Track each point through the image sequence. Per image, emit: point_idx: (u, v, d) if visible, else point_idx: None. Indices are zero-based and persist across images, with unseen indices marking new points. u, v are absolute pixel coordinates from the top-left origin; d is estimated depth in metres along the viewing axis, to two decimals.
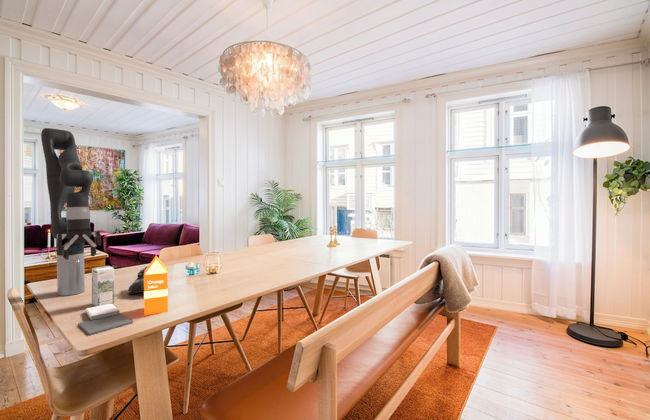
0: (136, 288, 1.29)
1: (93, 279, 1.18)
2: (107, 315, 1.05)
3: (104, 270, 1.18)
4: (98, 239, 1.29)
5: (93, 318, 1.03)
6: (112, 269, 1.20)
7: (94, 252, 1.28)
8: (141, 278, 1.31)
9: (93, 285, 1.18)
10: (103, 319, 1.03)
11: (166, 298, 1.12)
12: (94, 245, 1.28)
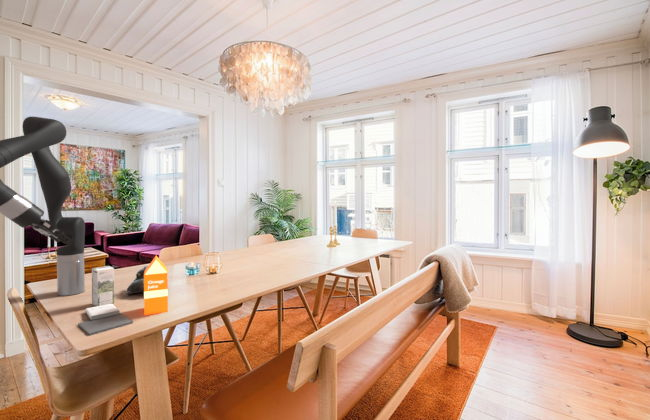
0: (135, 288, 1.28)
1: (93, 279, 1.18)
2: (107, 315, 1.05)
3: (104, 270, 1.18)
4: (50, 232, 1.01)
5: (93, 318, 1.03)
6: (112, 269, 1.20)
7: (64, 241, 1.05)
8: (140, 278, 1.31)
9: (93, 285, 1.18)
10: (103, 319, 1.03)
11: (166, 298, 1.12)
12: (55, 236, 1.03)
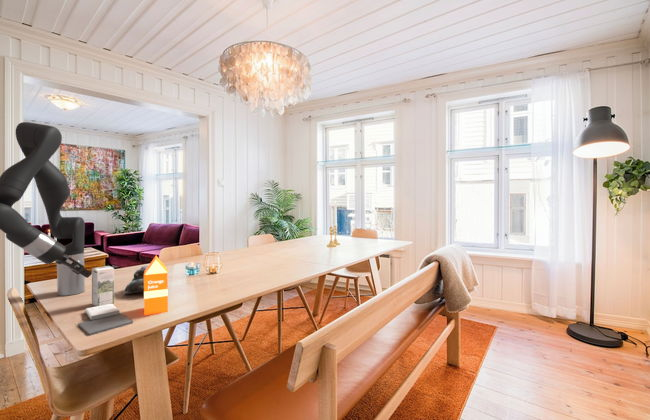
0: (133, 288, 1.28)
1: (93, 279, 1.18)
2: (107, 315, 1.05)
3: (104, 270, 1.18)
4: (72, 268, 1.06)
5: (93, 318, 1.03)
6: (112, 269, 1.20)
7: (85, 275, 1.11)
8: (138, 278, 1.30)
9: (93, 285, 1.18)
10: (103, 319, 1.03)
11: (166, 298, 1.12)
12: None
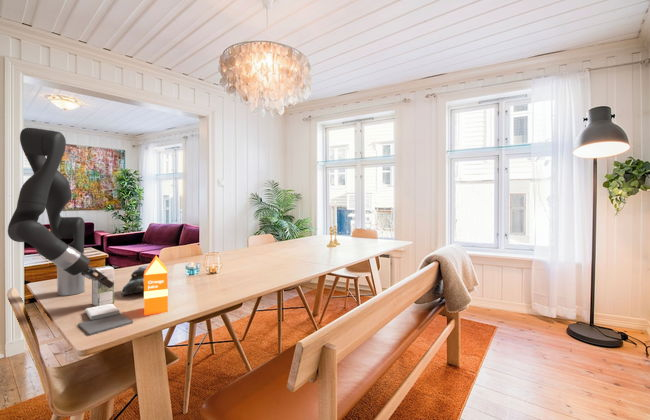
0: (131, 288, 1.27)
1: None
2: (107, 315, 1.05)
3: (104, 270, 1.18)
4: (97, 280, 1.13)
5: (93, 318, 1.03)
6: (112, 269, 1.20)
7: (107, 285, 1.18)
8: (136, 279, 1.30)
9: (93, 285, 1.18)
10: (103, 319, 1.03)
11: (166, 298, 1.12)
12: (100, 282, 1.16)
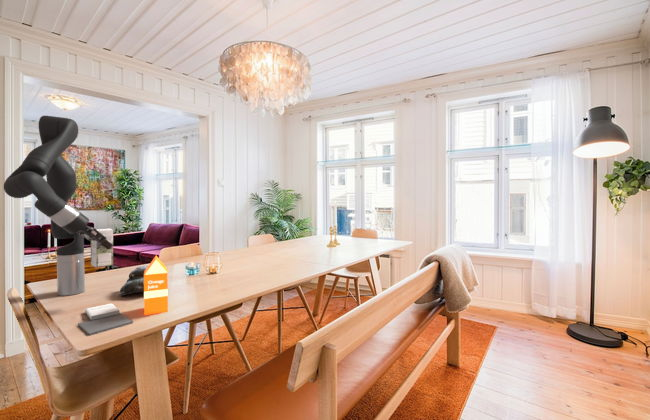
0: (129, 289, 1.27)
1: None
2: (107, 315, 1.05)
3: (103, 231, 1.17)
4: (96, 239, 1.13)
5: (93, 318, 1.03)
6: (111, 230, 1.19)
7: (106, 246, 1.17)
8: (134, 279, 1.29)
9: (92, 246, 1.17)
10: (103, 319, 1.03)
11: (166, 298, 1.12)
12: (99, 242, 1.15)
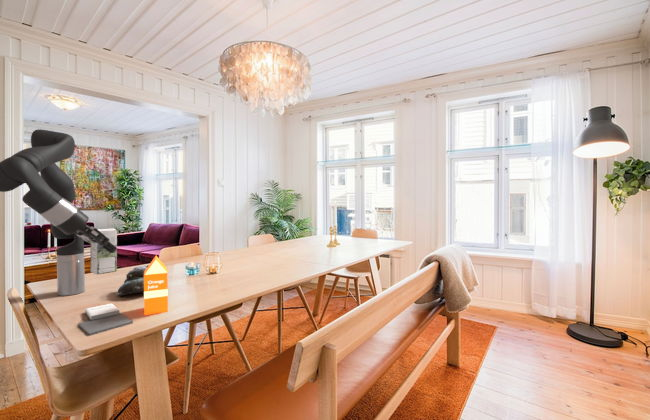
0: (128, 289, 1.26)
1: None
2: (107, 315, 1.05)
3: (105, 231, 0.99)
4: (96, 241, 0.94)
5: (93, 318, 1.03)
6: (115, 231, 1.01)
7: (109, 249, 0.99)
8: (132, 279, 1.29)
9: (92, 249, 0.99)
10: (103, 319, 1.03)
11: (166, 298, 1.12)
12: (100, 245, 0.97)
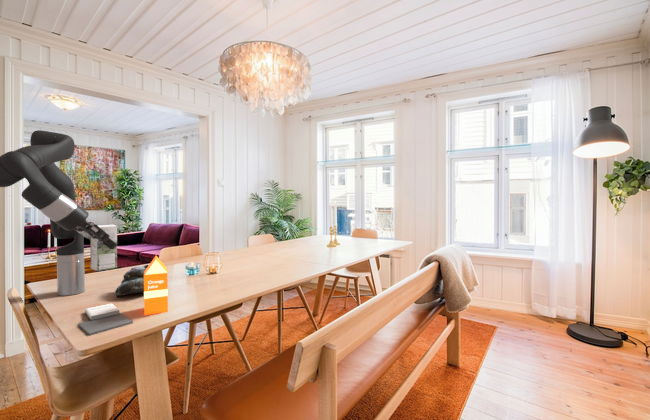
0: (125, 289, 1.26)
1: None
2: (107, 315, 1.05)
3: (105, 227, 0.98)
4: (96, 237, 0.94)
5: (93, 318, 1.03)
6: (115, 227, 1.00)
7: (109, 246, 0.98)
8: (130, 280, 1.28)
9: (92, 245, 0.98)
10: (103, 319, 1.03)
11: (166, 298, 1.12)
12: (100, 241, 0.96)
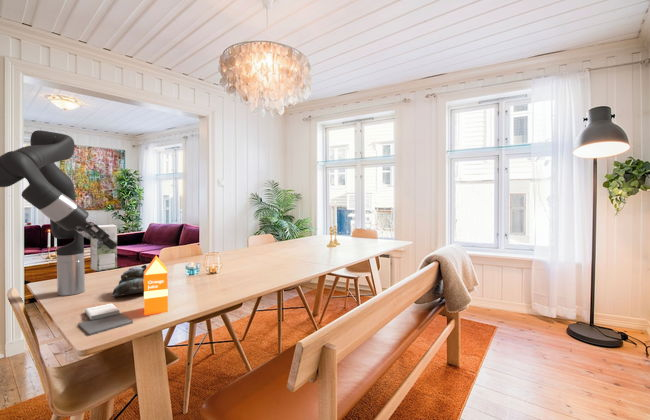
0: (124, 290, 1.25)
1: None
2: (107, 315, 1.05)
3: (105, 227, 0.98)
4: (96, 237, 0.94)
5: (93, 318, 1.03)
6: (115, 227, 1.00)
7: (109, 246, 0.98)
8: (128, 280, 1.28)
9: (92, 245, 0.98)
10: (103, 319, 1.03)
11: (166, 298, 1.12)
12: (100, 241, 0.96)
